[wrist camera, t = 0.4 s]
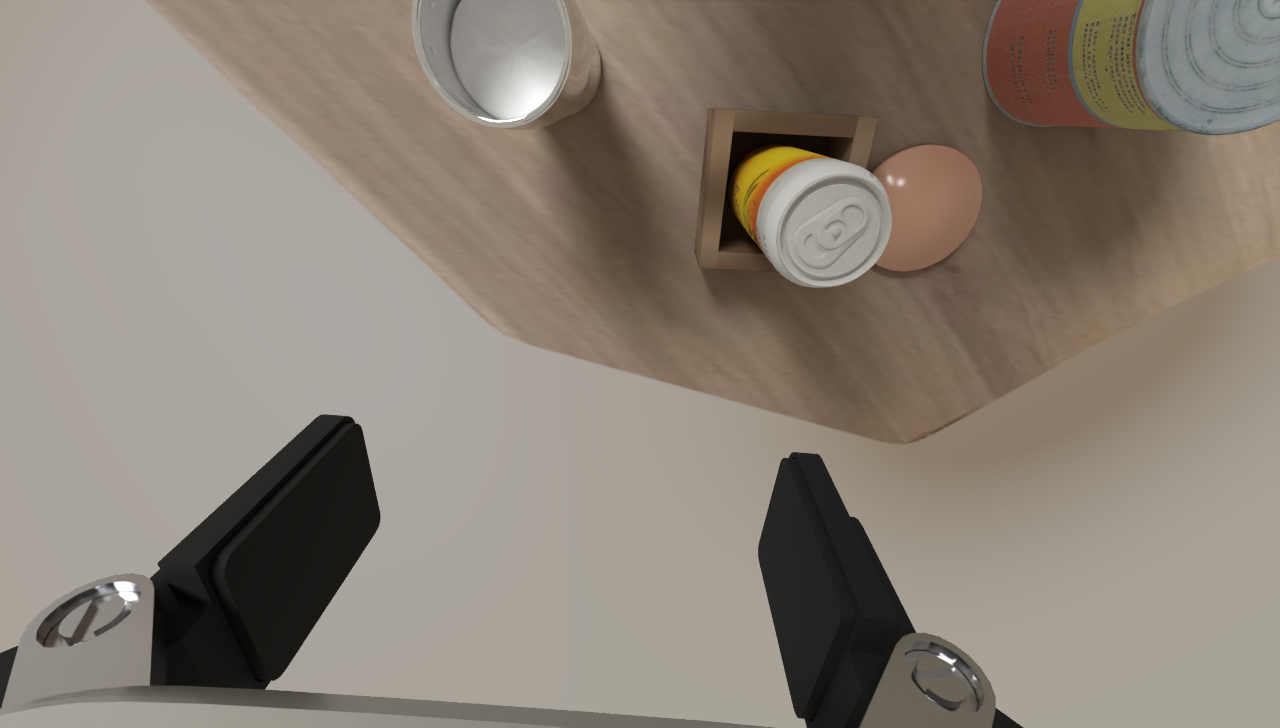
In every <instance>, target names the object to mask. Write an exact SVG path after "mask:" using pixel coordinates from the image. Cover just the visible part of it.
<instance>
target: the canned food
mask: <svg viewBox="0 0 1280 728" xmlns="http://www.w3.org/2000/svg"><path fill="white" fill-rule="evenodd" d="M982 69H983V76H984V81H985V85H986V88H987V90H988V93H989V95H990V97H991V99H992V101H993V102H994V103H995V105H996V106H997V107H998V108H999V110H1000V111H1001V112H1002V113H1004V114H1005V115H1006V116H1008V117H1009V118H1011V119H1013V120H1014V121H1017V122H1019V123H1021V124H1025V125H1029V126H1036V127H1051V126H1071V127H1093V128H1116V129H1139V130H1162V131H1184V132H1190V133H1196V134H1202V135H1227V134H1235V133H1241V132H1246V131H1250V130H1253V129H1257V128H1260V127H1263V126H1266V125H1269V124H1272V123H1274V122H1276V121H1279V120H1280V0H998V1H997V3H996V5H995V7H994V9H993V12H992V14H991V17H990V20H989V23H988V26H987V29H986V33H985V38H984V43H983V51H982Z"/></svg>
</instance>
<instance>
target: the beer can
mask: <svg viewBox="0 0 1280 728" xmlns="http://www.w3.org/2000/svg"><path fill="white" fill-rule="evenodd" d="M729 202H730V206H731V209H732V211H733V213H734V215H735V216H736V218H737V219H738V220H739V221H740V223H741V224H742V225H743V227H744V228H745V229H746V231H747V232H748V233H749V235H750V236H751V237H752V239H753V240H754V241H755V242H756V244H757V245H758V246H759V248H760V249H761V250H762V252H763V253H764V254H765V256H766V257H767V258H768V259H769V261H770V262H771V263H772V265H773V266H774V267H775V269H776V270H777V271H778V272H779V273H780V274H781V275H782V276H783V277H785V278H786V279H788V280H789V281H791V282H793V283H795V284H798V285H801V286H805V287H811V288H823V287H834V286H839V285H843V284H846V283H848V282H851V281H853V280H855V279H857V278H858V277H860V276H862V275H863V274H864V273H866V272H867V271H868V270H869V269H870V268H871V267H872V266H873V265H874V264H875V263H876V262H877V261H878V259H879V258H880V257H881V255H882V254H883V252H884V250H885V248H886V246H887V244H888V241H889V238H890V235H891V230H892V213H891V208H890V202H889V198H888V195H887V193H886V190H885V188H884V187H883V185H882V183H881V182H880V181H879V180H878V179H877V178H876V177H875V176H874V175H873V174H872V173H871V172H869V171H868V170H866V169H864V168H862V167H860V166H858V165H855V164H852V163H848V162H844V161H841V160H837V159H834V158H830V157H826V156H823V155H819V154H816V153H812V152H809V151H805V150H801V149H798V148H794V147H791V146H787V145H782V144H769V145H765V146H762V147H759V148H757V149H755V150H753V151H752V152H750V153H749V154H747V155H746V156H745V157H744V158H743V159H742V160H741V161H740V163H739V164H738V165H737V167H736V168H735V170H734V172H733V174H732V177H731V180H730V184H729Z"/></svg>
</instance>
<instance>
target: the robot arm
mask: <svg viewBox="0 0 1280 728" xmlns="http://www.w3.org/2000/svg"><path fill="white" fill-rule="evenodd" d="M379 523H380V511H379V506H378V501H377V496H376V492H375V487H374V482H373V478H372V473H371V468H370V464H369V459H368V454H367V450H366V445H365V440H364V436H363V431H362V428H361V426H360V425H359V424H355V422H354V420H353V419H352V418H351V417H349V416H338V415H320V416H318V417H317V418H316V419H314V420H313V421H312V422H311V423H310V424H309V425H308V426H307V427H306V428H305V429H304V430H302V432H300V433H299V434H298V435H297V436H296V437H295V438H294V439H293V440H292V441H291V442H289V443H288V444H287V445H286V446H285V447H284V448H283V449H282V450H281V451H279V452H278V453H277V454H276V455H275V456H274V457H273V458H272V459H271V460H270V461H269V462H267V463H266V464H265V465H264V466H263V467H262V468H261V469H260V470H259V471H258V472H257V473H256V474H254V475H253V476H252V477H251V478H250V479H249V480H248V481H247V482H246V483H244V485H242V486H241V487H240V488H239V489H238V490H237V491H236V492H235V493H234V494H232V495H231V496H230V497H229V498H228V499H227V500H226V501H225V502H224V503H223V504H222V505H220V506H219V507H218V508H217V509H216V510H215V511H214V512H213V513H212V514H211V515H209V516H208V517H207V518H206V519H205V520H204V521H203V522H202V523H201V524H200V525H199V526H197V527H196V528H195V529H194V530H193V531H192V532H191V533H190V534H189V535H188V536H187V537H185V539H183V540H182V541H181V542H180V543H179V544H178V545H177V546H176V547H175V548H173V549H172V550H171V551H170V552H169V553H168V554H167V555H166V556H165V557H164V558H163V559H162V560H161V561H159V562H158V566H159V567H160V570H159V571H158V572H156V573H155V574H154V575H153V576H152V577H151V578H150V579H148V578H147V577H145V576H144V575H138V574H121V575H114V576H110V577H106V578H103V579H99V580H96V581H93V582H91V583H88V584H86V585H84V586H81V587H79V588H76V589H75V590H73V591H71V592H69V593H68V594H66V595H64V596H62V597H61V598H59V599H57V600H56V601H54V602H53V603H52V604H50V605H49V606H48V607H46V608H45V609H44V610H42V611H41V612H40V613H39V614H38V615H37V616H36V617H35V618H34V619H33V620H32V621H31V623H30V624H29V625H28V626H27V627H26V629H25V631H24V633H23V635H22V637H21V639H20V643H19V646H16V647H14V648H11V649H9V650H7V651H4V652H2V653H0V728H773V727H762V726H751V725H741V724H731V723H720V722H709V721H698V720H685V719H672V718H659V717H645V716H633V715H620V714H607V713H594V712H581V711H568V710H554V709H540V708H525V707H513V706H498V705H485V704H471V703H457V702H443V701H428V700H414V699H400V698H384V697H369V696H353V695H338V694H324V693H307V692H292V691H278V690H265V688H266V687H267V686H268V684H269V683H270V681H271V680H272V681H274V680H276V679H278V678H279V677H280V676H281V675H282V674H283V672H284V671H285V670H286V668H287V667H288V665H289V664H290V662H291V661H292V659H293V658H294V656H295V655H296V653H297V652H298V650H299V649H300V647H301V645H302V644H303V642H304V641H305V639H306V638H307V636H308V635H309V633H310V632H311V630H312V629H313V627H314V626H315V624H316V622H317V621H318V619H319V618H320V616H321V615H322V613H323V612H324V610H325V609H326V607H327V606H328V604H329V603H330V601H331V600H332V598H333V597H334V595H335V594H336V592H337V590H338V589H339V587H340V586H341V585H342V583H343V581H344V580H345V578H346V577H347V575H348V574H349V572H350V571H351V569H352V568H353V566H354V565H355V563H356V562H357V560H358V559H359V557H360V556H361V554H362V552H363V551H364V549H365V548H366V546H367V545H368V543H369V542H370V540H371V539H372V537H373V536H374V534H375V533H376V530H377V529H378V527H379ZM758 557H759V563H760V567H761V571H762V575H763V580H764V584H765V588H766V593H767V597H768V601H769V605H770V610H771V614H772V618H773V622H774V627H775V631H776V635H777V639H778V644H779V648H780V652H781V656H782V661H783V665H784V669H785V673H786V678H787V682H788V686H789V690H790V695H791V699H792V703H793V708H794V711H795V714H796V716H797V717H798V718H802V719H805V722H806V726H807V728H1023V727H1022V726H1020V725H1019V724H1017V723H1016V722H1015V721H1013V720H1012V719H1010V718H1009V717H1008V716H1006V715H1005V714H1004V713H1002V712H1000V711H999V710H998V709H997V708H996V707H995V706H996V705H995V704H996V703H995V694H994V691H993V689H992V686H991V683H990V681H989V680H988V679H987V677H986V676H985V674H984V672H983V671H982V669H981V668H980V667H979V666H978V665H977V664H976V663H975V661H974V660H973V659H972V658H971V657H970V656H969V655H968V654H966V653H965V652H963V651H962V650H961V649H959V648H958V647H957V646H955V645H954V644H952V643H950V642H948V641H946V640H944V639H942V638H940V637H938V636H934V635H931V634H927V633H916V631H915V629H914V628H913V625H912V624H911V622H910V620H909V618H908V616H907V614H906V612H905V610H904V608H903V606H902V604H901V602H900V600H899V598H898V596H897V594H896V592H895V590H894V588H893V586H892V584H891V582H890V580H889V578H888V576H887V574H886V572H885V570H884V568H883V566H882V564H881V562H880V560H879V558H878V556H877V554H876V552H875V550H874V548H873V546H872V544H871V542H870V540H869V538H868V536H867V534H866V532H865V530H864V528H863V526H862V525H861V523H860V522H859V520H858V519H856V518H855V517H850V516H849V514H848V512H847V510H846V508H845V506H844V504H843V502H842V499H841V497H840V495H839V493H838V491H837V489H836V488H835V485H834V483H833V481H832V479H831V477H830V475H829V473H828V471H827V468H826V466H825V464H824V463H823V460H822V458H821V457H820V455H818V454H810V453H798V452H793V453H791V455H790V456H789V458H783V459H782V460H781V463H780V466H779V470H778V474H777V478H776V481H775V485H774V489H773V493H772V496H771V500H770V504H769V508H768V512H767V516H766V519H765V523H764V527H763V530H762V534H761V538H760V542H759V547H758Z"/></svg>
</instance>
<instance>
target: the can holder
mask: <svg viewBox="0 0 1280 728" xmlns="http://www.w3.org/2000/svg"><path fill="white" fill-rule="evenodd" d="M878 118H879V117H864V116H845V115H827V114H808V113H790V112H771V111H752V110H734V109H708V119H707V129H706V139H705V149H704V159H703V169H702V179H701V189H700V200H699V210H698V220H697V230H696V240H695V250H694V252H695V255H696V259H697V262H698V266H699V268H712V269H731V270H750V271H768V272H778V271H777V270H776V269H775V267H774V266H773V265H772V263H771V262H770V261H769V259H768V258H767V257H766V256H765V254H764V253H763V252H762V250H761V249H760V248H759V246H758V245H757V244H756V242H755V241H754V240H753V239H741V238H723V237H720V232H721V224H722V216H723V208H724V199H725V191H726V183H727V175H728V166H729V158H730V150H731V142H732V134H733V131H738V132H757V133H776V134H794V135H813V136H831V138H830V143H829V148H828V152H827V157H830V158H834V159H837V160H841V161H844V162H848V163H852V164H855V165H858V166H860V167H862V168H864V169H866V168H867V164H868V159H869V155H870V151H871V147H872V143H873V139H874V135H875V131H876V126H877V122H878Z"/></svg>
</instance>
